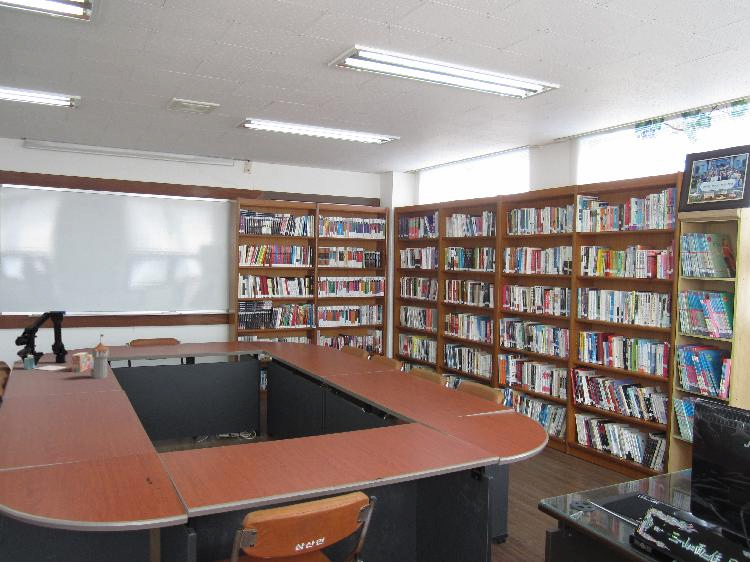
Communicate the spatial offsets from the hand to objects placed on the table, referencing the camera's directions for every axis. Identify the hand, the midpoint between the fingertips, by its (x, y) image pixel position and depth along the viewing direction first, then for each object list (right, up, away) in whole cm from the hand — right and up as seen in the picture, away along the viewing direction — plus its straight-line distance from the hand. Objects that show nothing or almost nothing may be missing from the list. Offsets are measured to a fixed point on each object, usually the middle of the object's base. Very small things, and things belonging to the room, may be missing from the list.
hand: (30, 365), depth 435 cm
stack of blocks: (+38, -3, +2) cm, 38 cm away
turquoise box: (0, -2, 0) cm, 2 cm away
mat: (+14, -3, +2) cm, 14 cm away
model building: (+62, -5, -25) cm, 68 cm away
